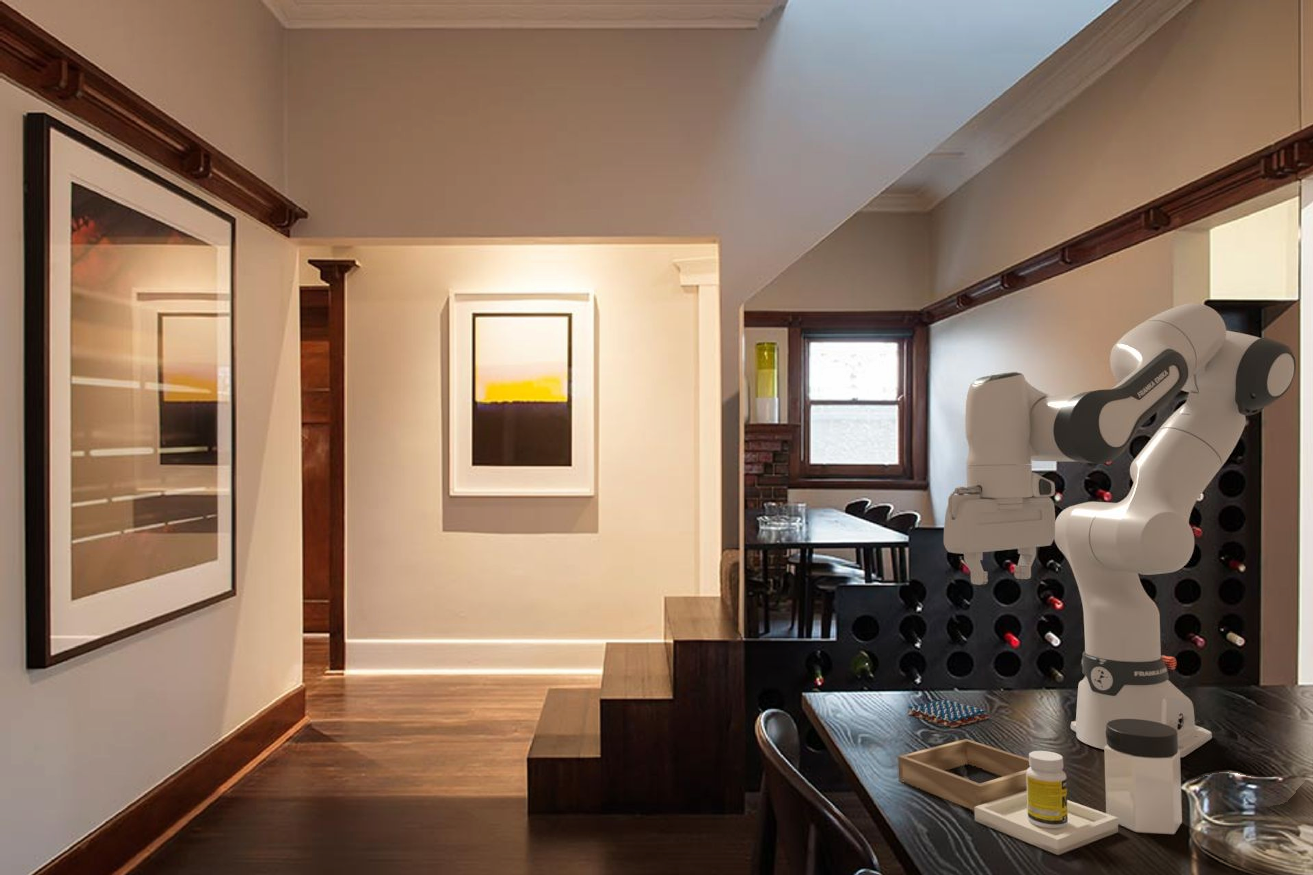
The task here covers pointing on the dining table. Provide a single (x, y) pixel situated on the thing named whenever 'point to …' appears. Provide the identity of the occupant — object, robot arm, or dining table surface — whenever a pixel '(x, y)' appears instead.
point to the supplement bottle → (1046, 790)
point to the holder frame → (932, 777)
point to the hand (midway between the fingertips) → (1001, 581)
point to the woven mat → (948, 713)
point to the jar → (1143, 775)
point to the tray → (1077, 832)
